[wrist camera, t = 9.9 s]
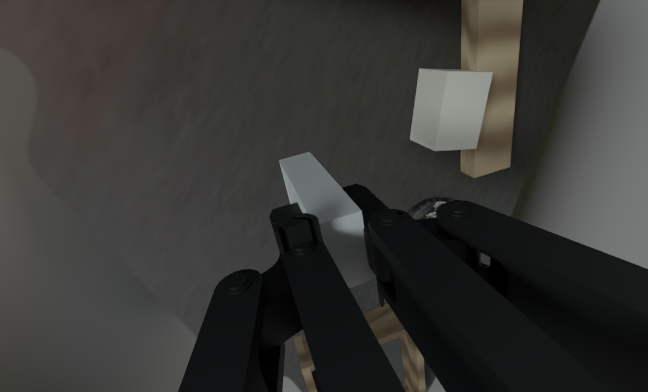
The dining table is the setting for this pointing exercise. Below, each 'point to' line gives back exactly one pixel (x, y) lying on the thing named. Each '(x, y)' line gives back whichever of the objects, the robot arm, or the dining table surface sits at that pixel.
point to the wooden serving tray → (384, 330)
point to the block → (449, 108)
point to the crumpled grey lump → (427, 208)
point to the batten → (502, 59)
